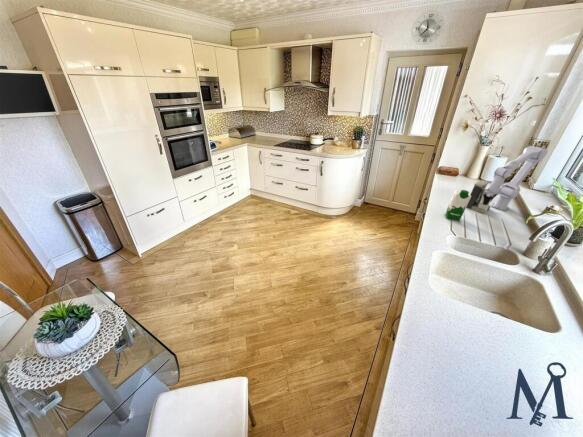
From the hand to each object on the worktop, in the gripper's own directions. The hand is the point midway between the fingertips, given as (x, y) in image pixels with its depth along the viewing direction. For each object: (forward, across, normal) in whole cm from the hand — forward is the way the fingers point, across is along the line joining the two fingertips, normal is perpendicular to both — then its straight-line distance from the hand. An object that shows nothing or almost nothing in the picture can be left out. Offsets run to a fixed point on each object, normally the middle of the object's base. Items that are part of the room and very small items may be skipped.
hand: (486, 203), depth 164 cm
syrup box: (+5, 0, +1) cm, 6 cm away
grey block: (+5, 0, +4) cm, 7 cm away
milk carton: (+6, -32, +8) cm, 33 cm away
